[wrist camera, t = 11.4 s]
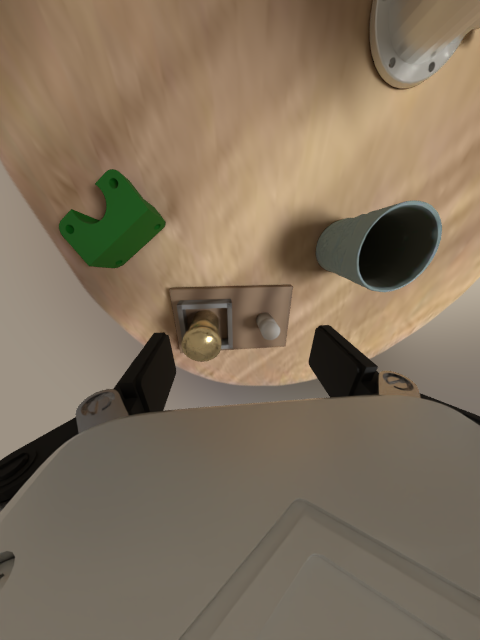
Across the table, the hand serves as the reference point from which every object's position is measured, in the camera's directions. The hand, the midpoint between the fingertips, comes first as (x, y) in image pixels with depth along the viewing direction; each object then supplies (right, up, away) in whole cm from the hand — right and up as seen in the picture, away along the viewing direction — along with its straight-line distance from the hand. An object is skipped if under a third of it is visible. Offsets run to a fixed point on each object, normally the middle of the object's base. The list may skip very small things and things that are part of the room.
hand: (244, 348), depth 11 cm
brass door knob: (-7, +1, +22) cm, 23 cm away
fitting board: (-2, +2, +24) cm, 24 cm away
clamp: (-18, +16, +16) cm, 29 cm away
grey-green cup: (+17, +15, +20) cm, 31 cm away
